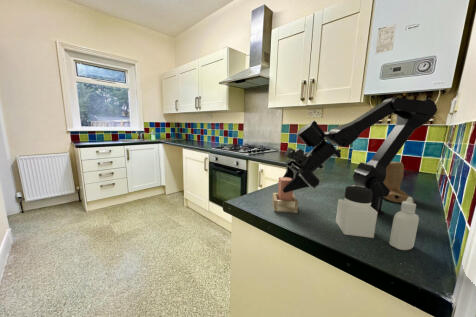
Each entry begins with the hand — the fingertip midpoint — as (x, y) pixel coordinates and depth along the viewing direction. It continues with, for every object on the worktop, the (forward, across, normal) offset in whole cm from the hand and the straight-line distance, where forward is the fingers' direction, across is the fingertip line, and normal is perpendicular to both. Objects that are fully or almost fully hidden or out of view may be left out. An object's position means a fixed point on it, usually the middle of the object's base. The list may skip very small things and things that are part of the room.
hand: (281, 188), depth 64 cm
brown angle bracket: (-29, -13, +39) cm, 50 cm away
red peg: (+4, 0, +6) cm, 7 cm away
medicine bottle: (-7, +14, +17) cm, 23 cm away
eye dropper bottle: (-12, +20, +22) cm, 33 cm away
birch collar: (+4, 0, +6) cm, 7 cm away
